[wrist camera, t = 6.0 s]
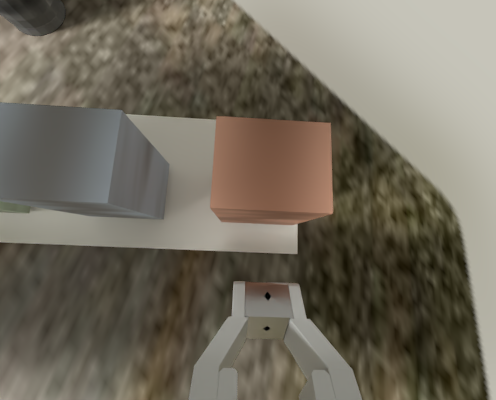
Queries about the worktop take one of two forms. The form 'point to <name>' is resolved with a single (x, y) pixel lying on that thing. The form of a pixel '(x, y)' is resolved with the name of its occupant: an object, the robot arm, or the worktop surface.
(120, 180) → the grey tall block
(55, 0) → the beverage cup
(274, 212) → the pink tall block
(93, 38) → the worktop surface
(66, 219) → the base
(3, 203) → the sage green block
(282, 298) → the robot arm
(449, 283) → the worktop surface
